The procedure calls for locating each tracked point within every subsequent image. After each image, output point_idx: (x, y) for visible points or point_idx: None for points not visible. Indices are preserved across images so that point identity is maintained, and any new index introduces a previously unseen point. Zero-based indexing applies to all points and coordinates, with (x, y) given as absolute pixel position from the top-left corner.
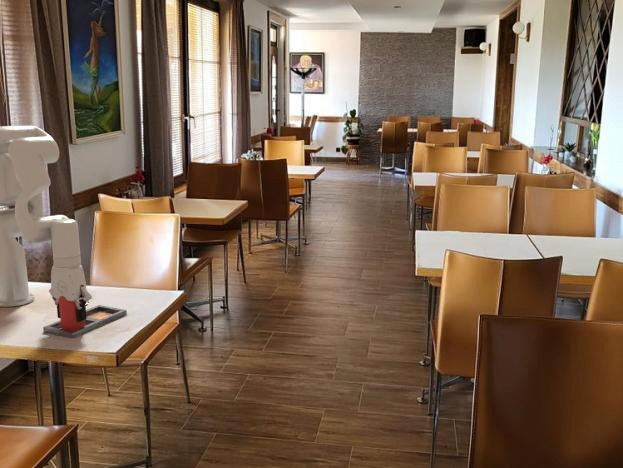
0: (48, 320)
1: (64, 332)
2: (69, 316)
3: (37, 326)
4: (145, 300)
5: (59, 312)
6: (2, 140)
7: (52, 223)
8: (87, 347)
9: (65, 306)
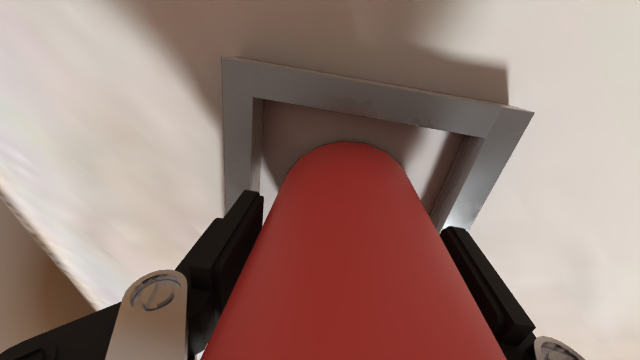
0: (554, 265)
1: (304, 72)
2: (302, 198)
3: (596, 181)
4: None
5: (464, 261)
6: None
7: None
8: None
9: (323, 278)
